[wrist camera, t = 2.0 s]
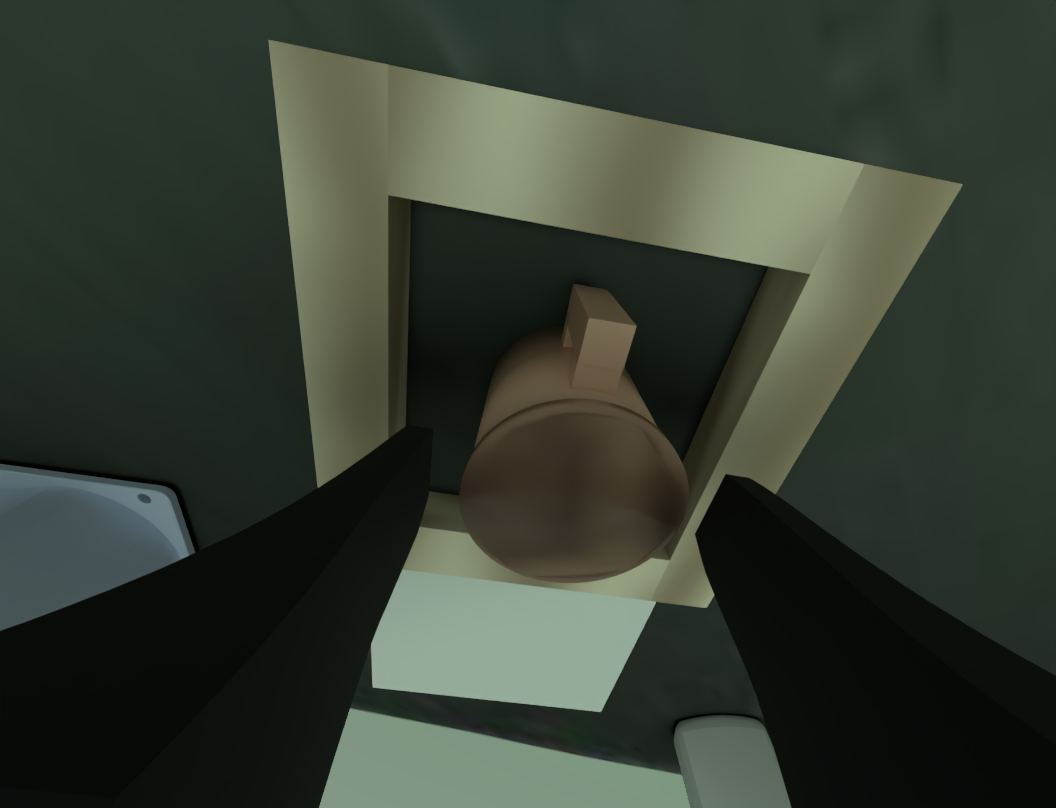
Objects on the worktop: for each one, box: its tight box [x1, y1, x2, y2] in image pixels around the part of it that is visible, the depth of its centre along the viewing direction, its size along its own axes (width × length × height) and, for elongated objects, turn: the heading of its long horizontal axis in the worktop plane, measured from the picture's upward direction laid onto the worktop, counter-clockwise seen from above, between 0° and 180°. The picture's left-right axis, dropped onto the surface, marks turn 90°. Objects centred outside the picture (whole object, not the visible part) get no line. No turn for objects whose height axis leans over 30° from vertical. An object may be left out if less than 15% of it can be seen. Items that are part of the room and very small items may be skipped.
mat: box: [371, 569, 656, 712], centre depth 21 cm, size 14×12×1 cm
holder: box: [269, 40, 963, 608], centre depth 13 cm, size 16×16×2 cm
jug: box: [459, 284, 689, 583], centre depth 11 cm, size 5×7×6 cm
